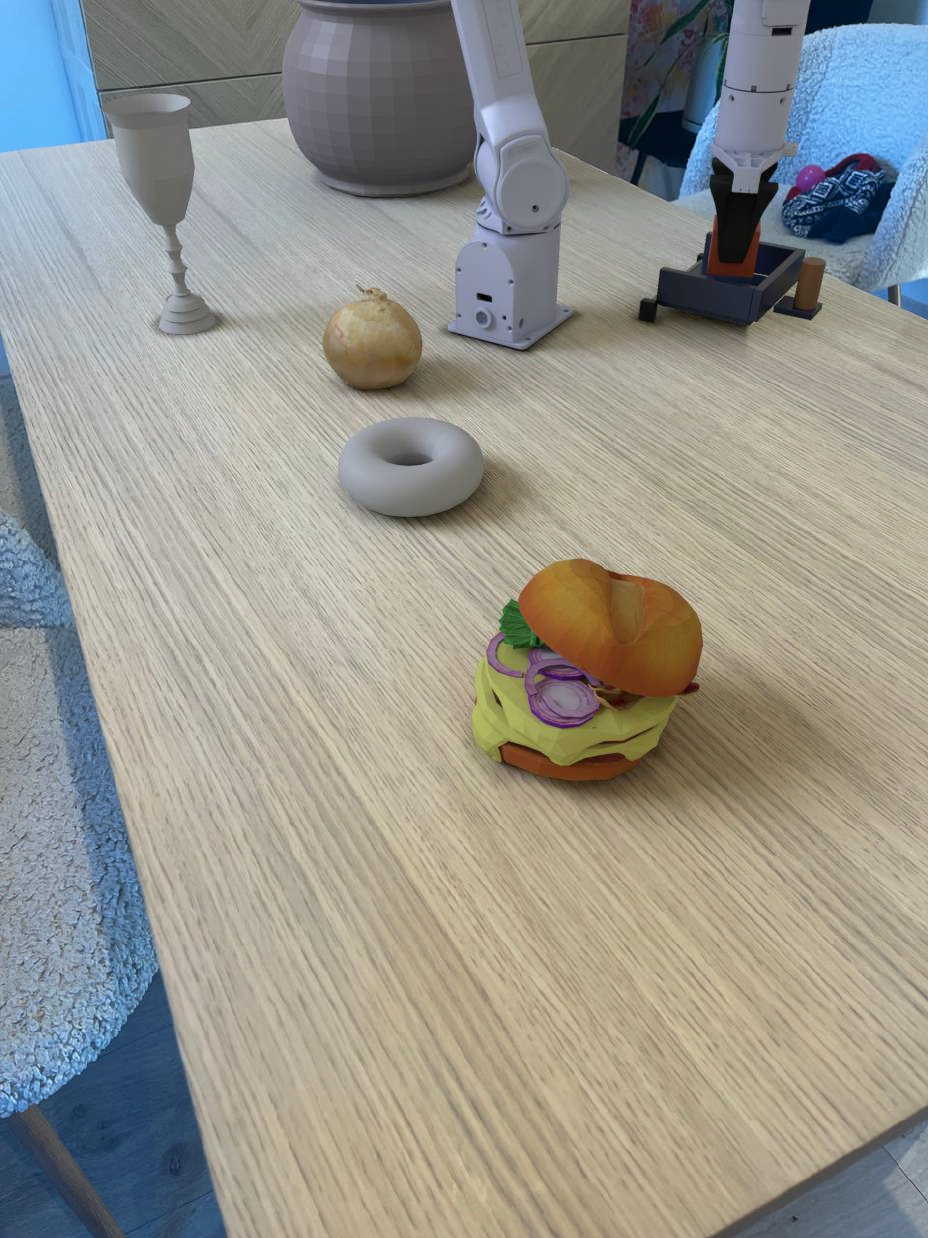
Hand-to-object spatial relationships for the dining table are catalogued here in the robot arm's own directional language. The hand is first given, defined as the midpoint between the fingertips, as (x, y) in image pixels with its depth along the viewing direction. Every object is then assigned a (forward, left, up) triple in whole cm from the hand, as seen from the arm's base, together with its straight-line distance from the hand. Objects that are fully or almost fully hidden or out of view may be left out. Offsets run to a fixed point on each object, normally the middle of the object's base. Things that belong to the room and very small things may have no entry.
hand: (731, 252), depth 91 cm
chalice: (-29, +40, -5) cm, 49 cm away
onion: (-29, +19, -5) cm, 35 cm away
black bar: (0, +5, -5) cm, 7 cm away
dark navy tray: (0, -2, -4) cm, 5 cm away
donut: (-41, +7, -5) cm, 42 cm away
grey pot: (+17, +50, -5) cm, 53 cm away
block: (0, 0, -1) cm, 1 cm away
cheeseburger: (-55, -13, -5) cm, 57 cm away
